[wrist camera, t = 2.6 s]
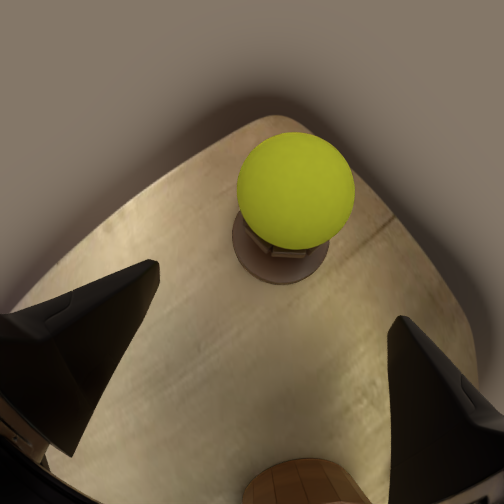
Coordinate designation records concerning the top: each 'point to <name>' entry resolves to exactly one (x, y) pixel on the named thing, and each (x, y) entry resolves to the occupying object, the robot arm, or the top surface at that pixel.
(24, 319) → the robot arm
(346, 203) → the ball
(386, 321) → the top surface
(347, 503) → the bucket
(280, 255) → the ball stand
